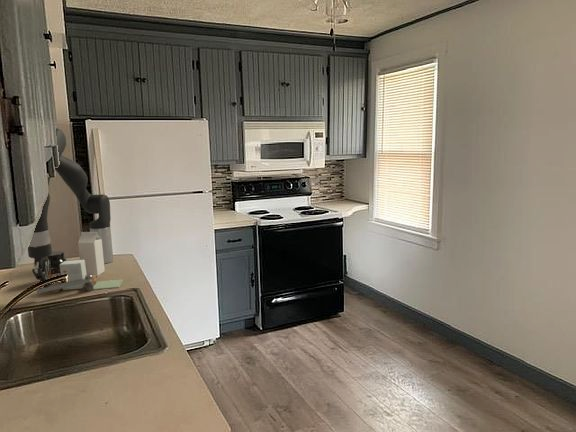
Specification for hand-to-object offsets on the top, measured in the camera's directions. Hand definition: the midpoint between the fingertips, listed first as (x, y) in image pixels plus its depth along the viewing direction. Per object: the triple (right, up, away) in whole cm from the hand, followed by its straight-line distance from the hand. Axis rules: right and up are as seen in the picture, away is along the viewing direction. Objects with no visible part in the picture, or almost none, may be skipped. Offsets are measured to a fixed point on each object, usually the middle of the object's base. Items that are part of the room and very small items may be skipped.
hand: (45, 288), depth 159 cm
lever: (+7, 0, +2) cm, 7 cm away
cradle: (+5, -2, +13) cm, 14 cm away
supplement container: (-9, -1, +22) cm, 24 cm away
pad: (+17, -1, +15) cm, 23 cm away
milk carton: (+4, +1, +31) cm, 31 cm away
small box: (+5, -2, +13) cm, 14 cm away
